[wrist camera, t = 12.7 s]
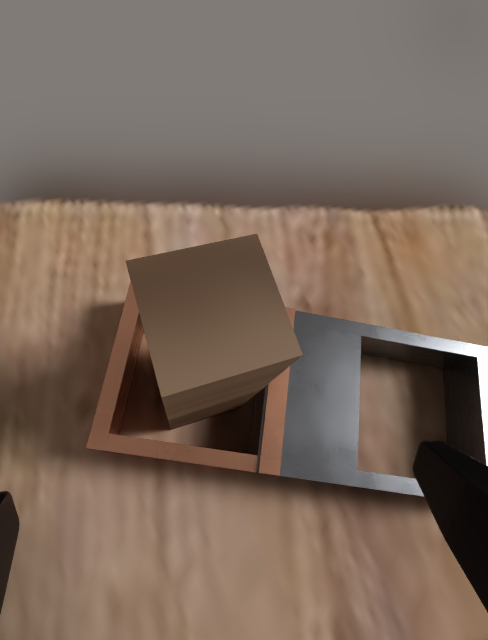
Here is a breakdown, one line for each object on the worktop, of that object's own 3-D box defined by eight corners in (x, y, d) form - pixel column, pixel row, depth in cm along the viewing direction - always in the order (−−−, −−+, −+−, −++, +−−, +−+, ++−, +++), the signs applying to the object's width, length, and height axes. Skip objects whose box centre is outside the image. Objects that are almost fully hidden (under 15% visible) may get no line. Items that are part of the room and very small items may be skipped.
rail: (463, 501, 22) (507, 508, 19) (99, 449, 20) (85, 447, 17) (454, 359, 25) (491, 346, 22) (136, 301, 23) (130, 278, 20)
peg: (239, 407, 22) (302, 355, 11) (170, 429, 21) (161, 397, 10) (219, 342, 23) (256, 233, 12) (152, 360, 22) (125, 261, 11)
